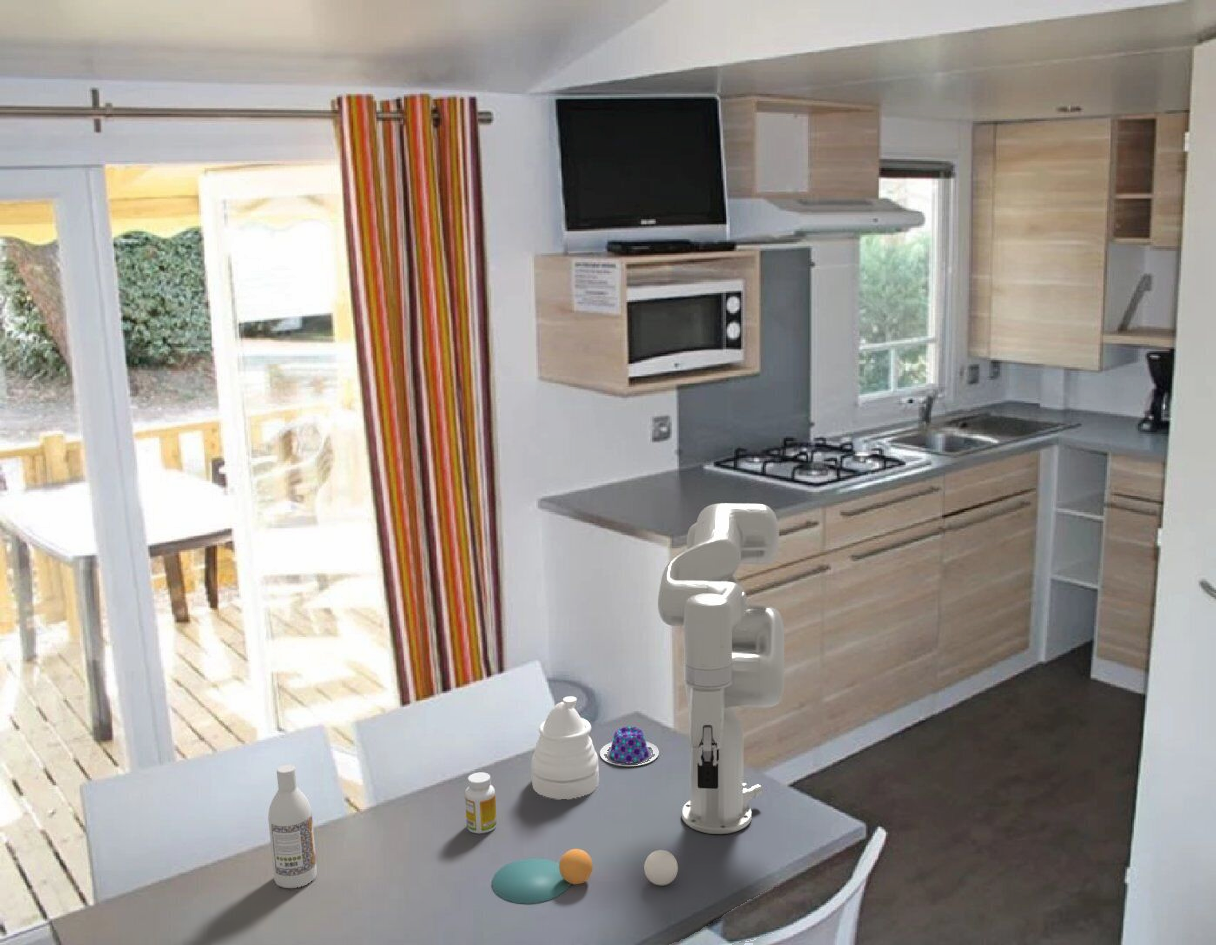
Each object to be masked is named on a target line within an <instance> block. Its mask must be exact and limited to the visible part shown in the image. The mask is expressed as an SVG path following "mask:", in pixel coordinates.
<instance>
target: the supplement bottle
mask: <svg viewBox="0 0 1216 945" xmlns="http://www.w3.org/2000/svg"><path fill="white" fill-rule="evenodd" d="M491 782H492V781H491V775H490V774H489V773H487V772H483V771H482V772H481V771H480V772H474V773H472V774H470V775H468V777H467V785H468V787H466V789H465V790H464V791H465V792H464V799H465V802H464V803H465V818H466V828H467V830H468V831H469V832H471V833H473V834H486V833H490V832H493V831H494V830H495V829H496V827H497V823H498V821H497V819H498V818H497V804H496V801H497V800H496V789H495V787H494V786H493V785H492V783H491Z"/></svg>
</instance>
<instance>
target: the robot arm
mask: <svg viewBox="0 0 1216 945" xmlns="http://www.w3.org/2000/svg"><path fill="white" fill-rule="evenodd" d="M778 522H779V521H778V518H777V515H776V514H775V512H774V510H773V509H772V508H771V507H770V506H768V505H767V504H762V503H734V502H733V503H729V502H728V503H725V502H720V503H712V504H710V505H708V506H706V507H705V508H703V509H702V510H701V511H700V513H699V514H698V516H697V520H696V522H695V523H693V524H692V525H691V526H689V529H688V531H687V536H686V550H684V551H683V552H681V553H680V554H678V555H676V556H675V557H674V558H672V559H671V560H670V561H669V562H668V563H667V565H666V566H665V567H664V570H663V571H662V572H663V573H662V576H661V578H660V580H661V581H660V586H659V590H658V596H657V597H658V598H657V610H658V615H659V617H660V619H661V620H662V622H663V623H664V624H666V625H668V626H671V627H680V628H681V627H683V661H684V662H683V682H684V686H685V692H686V699H687V707H688V718H689V719H688V720H689V721H688V723H689V797H690V799H689V800H688V801H687V802H686V803H685V804H684V805H683V807H682V809H681V818H682V820H683V822H684V824H686V825H687V826H688V827H690V829H692V830H695V831H698V832H700V833H705V834H711V835H712V834H713V835H724V834H726V835H727V834H732V833H736V832H739V831H741V830H743V829H744V828H746V827H747V826H748V825H750V823H751V822H752V818H753V816H752V815H753V812H752V808H751V807H750V805H748V802H750V801H751V799H752V798H756V797H758V796H760V795H762V794H763V788H762V786H761V785H760V784H754V785H752V786H750V787H749V788H748V785H747V783H746V782H744V728H743V723H742V721H741V719H740V717H739V716H738V714H737V713H736V711H735V710H734V707H741V708H742V707H744V708H772V707H775V706H777V705H778V704H779V703H780V702H781V701H782V699H783V696H784V693H785V692H784V691H785V679H786V678H785V676H786V675H785V627H784V621H783V617H782V616H781V614H780V612H779V611H778V609H776V608H774V607H772V606H768V605H757V604H756V605H752V604H751V605H750V604H748V597H747V593H746V592H745V590H744V588H743V586H742V584H741V583H740V581H739V580H738V579H737V577H735V576H734V574H735V573H737V571H738V570H739V567H740V565H767V564H771V563H773V562H774V561H775V560H776V558H777V556H778V554H779V549H780V530H779V529H780V528H779V523H778Z"/></svg>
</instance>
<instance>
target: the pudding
mask: <svg viewBox="0 0 1216 945" xmlns="http://www.w3.org/2000/svg"><path fill="white" fill-rule="evenodd" d="M612 738H613V739H612V741H611V742H609V743H607V744H605V745H603V747H602V748H601V749H600V751H599V756H600V757H601V759H602V760H603V761H605V762H607V763H609V764H612V765H614V766H620V767H636V766H637V767H638V766H641V765H646V764H649V763H651V762H653V761H655V760H656V758H658V756H659V754H660V751H659V749H658V746H656V745H655V744H653V743H651V742H649V741H647V740H646V738H645V735H644V732H643V730H642V729H641V728H637V727H635V726H623V727H620V728H617V729H616V730H615V733H614V734H613V737H612ZM609 747H611V749H610V750H609V751H607V750H608V749H609ZM647 747H651V748H652V750H653V754H655V756H654V757H652V758H651V759H649V757H650V753H649V749H648V748H647ZM607 752H608V753H609V755H610V756H609V758H611V757H614V760H616V761H623V762H622V763H624V762H625V763H624V764H628V763H629V764H631V763H630V762H634V761H642V760H644V762H645V759H647V758H646V757H648V756H649V757H648V759H649V760H650V761H648V762H645V763H642V762H643V761H642V762H641V763H642V764H638V763H637V764H638V765H621V764H622V763H619V764H615V763H612V762H609V761H607V760H608V759H607V758H605V756H604V754H607V755H608V753H607ZM614 760H613V761H614ZM616 761H615V762H616ZM626 762H628V763H626ZM634 763H635V762H634Z"/></svg>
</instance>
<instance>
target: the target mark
mask: <svg viewBox="0 0 1216 945" xmlns="http://www.w3.org/2000/svg"><path fill="white" fill-rule="evenodd" d="M559 864H560V862H558V861H554V860H550V859H546V858H545V859H544V858H535V857H534V858H525V859H519V860H516V861H515V860H514V861H512V862H511V863H507V864H505V865H504V866H502V867H501V868H500V869H498V870H497V871H496V872H495V874H494V875H493V878H492V880H491V881H492V882H491V886H492V890H493V891H494V892H495V894H496V895H497V896H499V897H500V898H502V899H504V900H506V901H509V902H512V903H516V904H529V905H530V904H539V903H544V902H547V901H550V900H553V899H555V898H557V897H559V896H561V895H562V894H563V893H565V892H566V891H567V889H568V888H569V887H570V885H571V883H569V882H567V881H566V880H564V878H563V877H562V876H561V873H560V870H559Z"/></svg>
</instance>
